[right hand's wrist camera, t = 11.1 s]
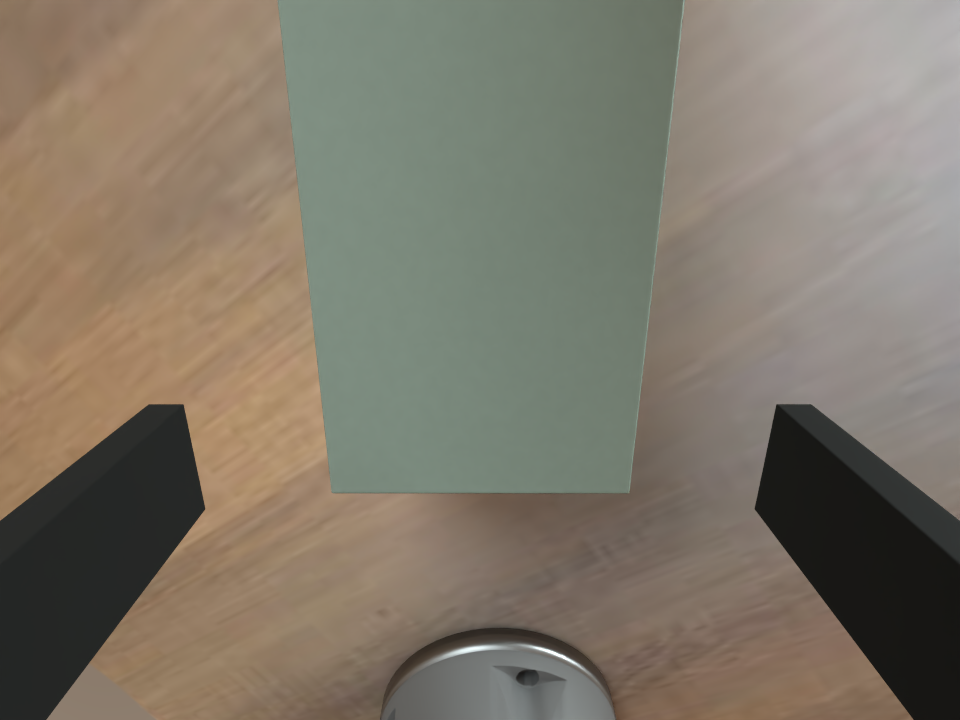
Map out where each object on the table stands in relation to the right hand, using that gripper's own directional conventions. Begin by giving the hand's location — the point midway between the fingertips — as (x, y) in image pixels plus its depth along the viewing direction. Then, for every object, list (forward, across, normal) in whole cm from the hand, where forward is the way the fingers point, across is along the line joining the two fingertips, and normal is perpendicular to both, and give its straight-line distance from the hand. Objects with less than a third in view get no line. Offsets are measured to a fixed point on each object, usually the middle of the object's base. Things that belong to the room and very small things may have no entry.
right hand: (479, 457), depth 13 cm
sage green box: (+16, 0, -4) cm, 16 cm away
